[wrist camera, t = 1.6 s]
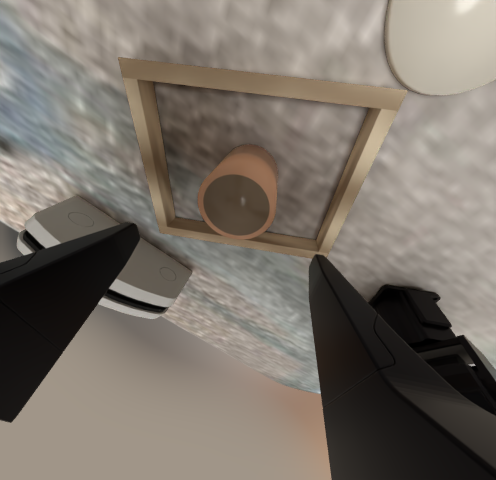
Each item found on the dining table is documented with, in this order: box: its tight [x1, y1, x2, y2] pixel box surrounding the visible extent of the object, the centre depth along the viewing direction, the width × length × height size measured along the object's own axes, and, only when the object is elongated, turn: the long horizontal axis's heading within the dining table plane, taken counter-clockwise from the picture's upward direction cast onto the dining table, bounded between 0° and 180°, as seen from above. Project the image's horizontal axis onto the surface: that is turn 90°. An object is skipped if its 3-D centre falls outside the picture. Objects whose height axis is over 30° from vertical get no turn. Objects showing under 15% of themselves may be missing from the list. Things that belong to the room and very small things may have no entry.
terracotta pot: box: [198, 144, 278, 240], centre depth 15 cm, size 5×5×7 cm
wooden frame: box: [118, 57, 408, 259], centre depth 17 cm, size 14×18×2 cm
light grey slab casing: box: [17, 195, 192, 319], centre depth 22 cm, size 17×5×10 cm, turn 47°
